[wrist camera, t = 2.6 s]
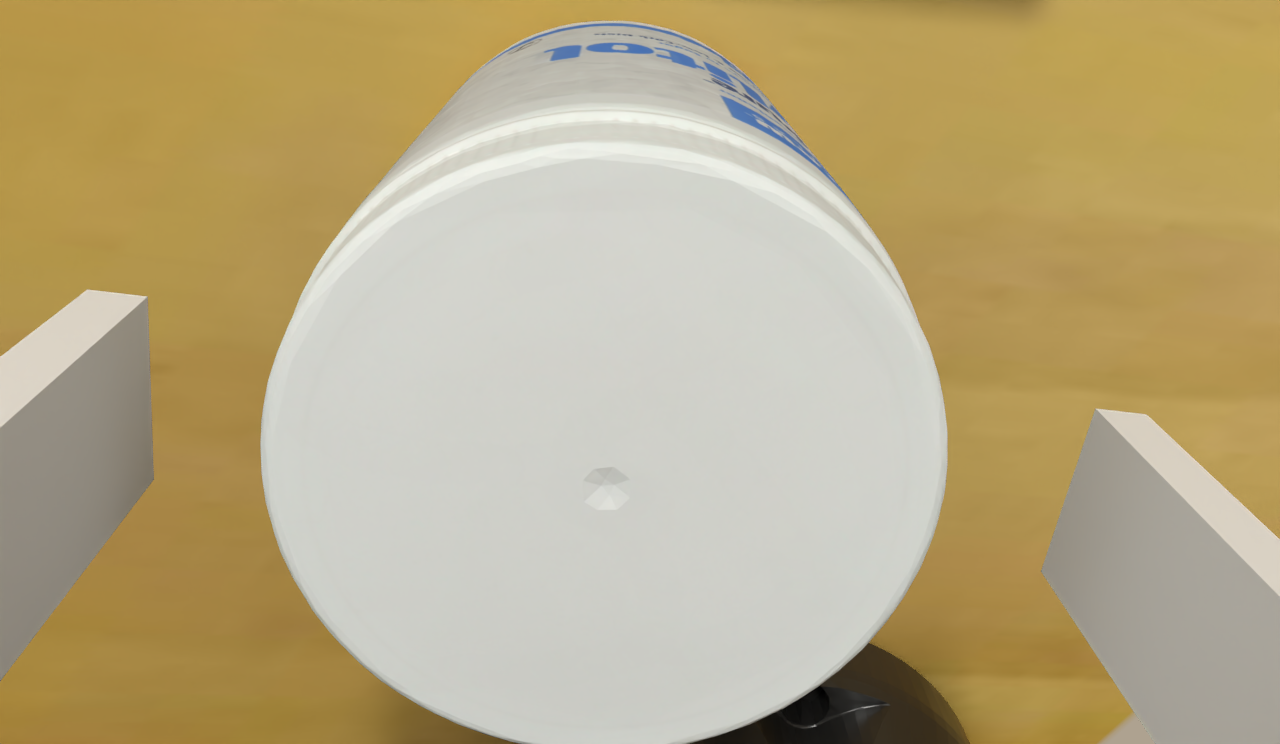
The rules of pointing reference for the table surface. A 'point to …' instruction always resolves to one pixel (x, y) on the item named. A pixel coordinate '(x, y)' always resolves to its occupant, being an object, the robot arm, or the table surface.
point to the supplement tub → (605, 406)
